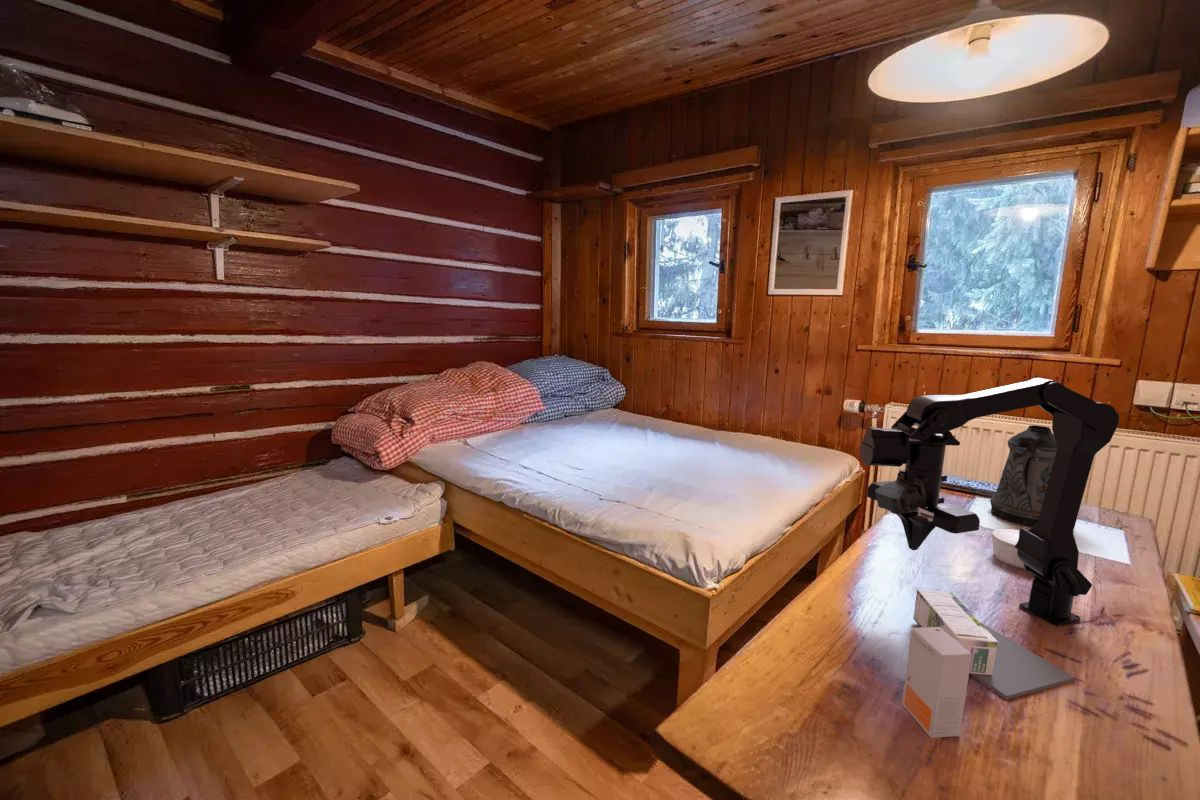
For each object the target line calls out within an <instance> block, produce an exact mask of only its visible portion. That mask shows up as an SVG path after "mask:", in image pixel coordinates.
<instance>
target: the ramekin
mask: <svg viewBox="0 0 1200 800" xmlns="http://www.w3.org/2000/svg"><path fill="white" fill-rule="evenodd" d="M1019 531H1020V529H1012V528H999V529H998V528H997V529H994V530H993V531H991V538H992V551H993V554H994V556H995V557H996V559H998V560H999V561H1001V562H1003V563H1005V564H1007V565H1010V566H1013V567H1016V568H1020V569H1024V570H1025V568H1024V564H1023V562H1022V561H1021V560H1020V558H1019V557H1018V555H1017V550H1018V549H1016V548H1015V547H1014V546H1015V545H1016V544H1017V542H1018V540H1019Z"/></svg>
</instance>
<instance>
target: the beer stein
mask: <svg viewBox="0 0 1200 800" xmlns="http://www.w3.org/2000/svg"><path fill="white" fill-rule="evenodd" d="M1007 446H1008V449H1009V453H1008V455H1007V459H1006V461H1005V464H1004V467H1003V470H1002V474H1001V476H1000V480H999V483H998V485H997V488H996V490H995V493H993V495H992V496H991V497H990V506H991V509H990V510H991V513H992V514H993V515H994V516H996V517H997V518H999V519H1002V520H1004V521H1007V522H1009V523H1013V524H1015V525H1016V524H1017V525H1018V526H1019V525H1020V526H1023V527H1030V528H1032V527H1033V526H1034V525H1035V524H1036V523H1037V522H1038V519H1039V516H1040V512H1041V508H1042V504H1043V500H1044V497H1045V493H1046V489H1047V485H1048V482H1049V478H1050V474H1051V470H1052V466H1053V463H1054V459H1055V455H1056V451H1057V443H1056V440H1055V437H1054V434H1053V431H1052V428H1050V427H1049V426H1042V425H1034V424H1033V425H1029V426H1028V427H1027V429H1025V430H1023V431H1021V432H1019V433H1017V434H1015V435H1013V436H1012V437H1010V438H1009V439H1008V440H1007Z"/></svg>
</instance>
